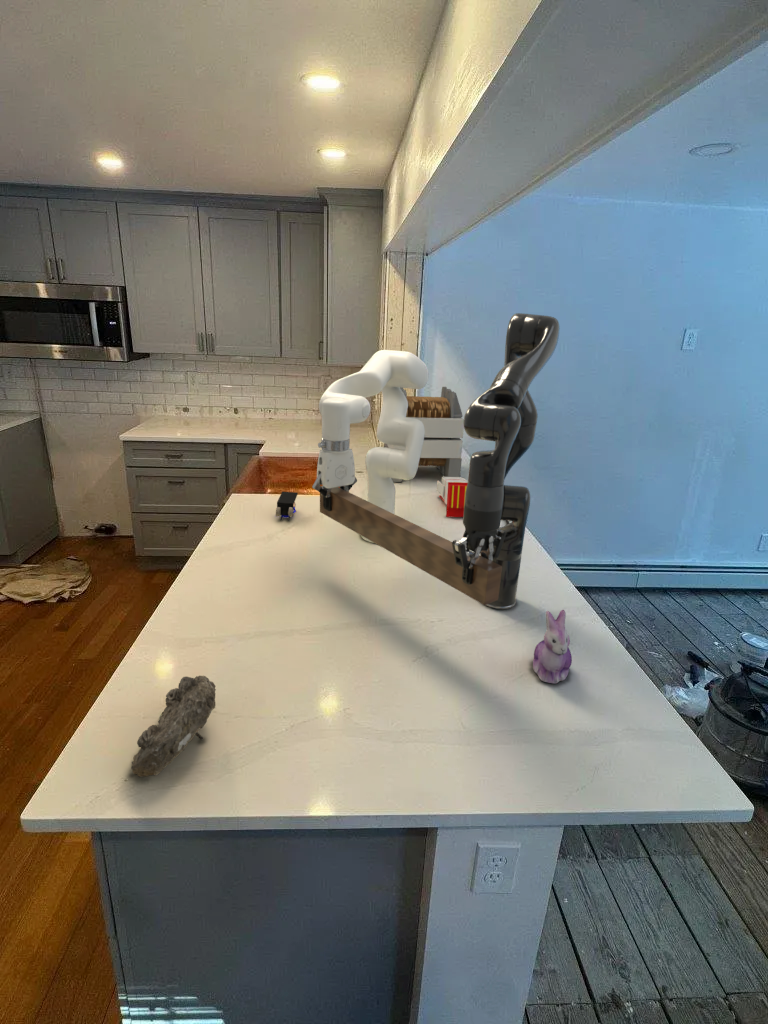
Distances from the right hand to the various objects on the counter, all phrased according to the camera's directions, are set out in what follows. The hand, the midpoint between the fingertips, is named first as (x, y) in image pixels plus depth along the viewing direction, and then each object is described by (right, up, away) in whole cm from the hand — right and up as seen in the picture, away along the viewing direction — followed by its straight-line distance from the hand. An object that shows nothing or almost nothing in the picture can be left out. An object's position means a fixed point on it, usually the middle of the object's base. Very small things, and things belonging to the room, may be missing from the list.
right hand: (475, 579), depth 119 cm
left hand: (-33, +16, +41) cm, 55 cm away
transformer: (-2, +33, +156) cm, 159 cm away
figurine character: (-55, +13, +92) cm, 108 cm away
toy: (+9, +17, +111) cm, 113 cm away
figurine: (+18, -22, +7) cm, 29 cm away
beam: (-17, +5, +21) cm, 27 cm away
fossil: (-56, -27, -17) cm, 64 cm away
